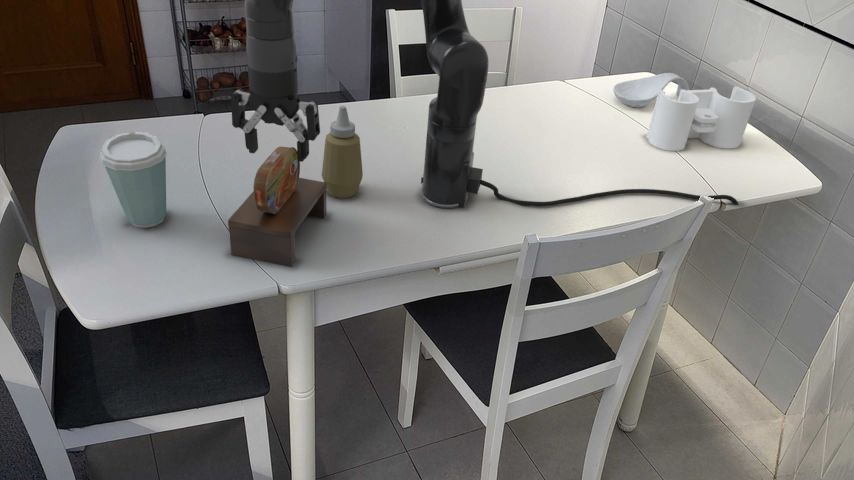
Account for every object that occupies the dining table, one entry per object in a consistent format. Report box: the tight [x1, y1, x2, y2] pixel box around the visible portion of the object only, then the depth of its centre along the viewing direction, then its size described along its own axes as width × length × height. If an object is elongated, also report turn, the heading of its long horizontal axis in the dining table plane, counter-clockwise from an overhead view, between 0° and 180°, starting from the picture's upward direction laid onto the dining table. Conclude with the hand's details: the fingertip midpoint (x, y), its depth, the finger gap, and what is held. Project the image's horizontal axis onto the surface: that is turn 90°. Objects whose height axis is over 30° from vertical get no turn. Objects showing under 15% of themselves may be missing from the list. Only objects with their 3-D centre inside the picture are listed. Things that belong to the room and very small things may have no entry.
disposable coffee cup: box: [98, 131, 168, 229], centre depth 129 cm, size 11×11×15 cm
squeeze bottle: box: [321, 105, 364, 199], centre depth 143 cm, size 8×8×18 cm
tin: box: [253, 146, 301, 214], centre depth 127 cm, size 15×3×8 cm, turn 169°
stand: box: [227, 177, 328, 268], centre depth 132 cm, size 11×18×7 cm, turn 169°
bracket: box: [646, 86, 757, 152], centre depth 181 cm, size 25×10×12 cm, turn 108°
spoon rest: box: [612, 72, 690, 109], centre depth 201 cm, size 24×12×7 cm, turn 117°
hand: (278, 155), depth 125 cm, fingers open, 8 cm apart
